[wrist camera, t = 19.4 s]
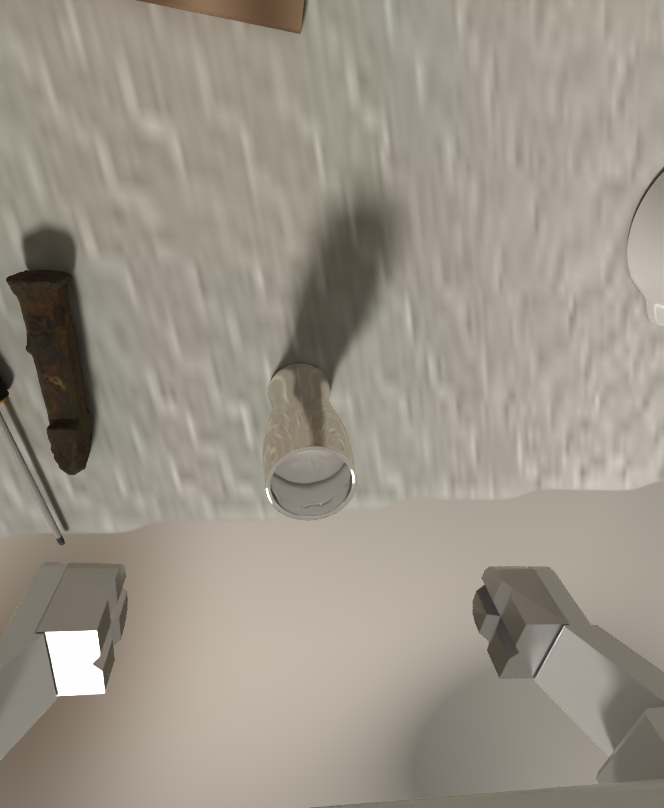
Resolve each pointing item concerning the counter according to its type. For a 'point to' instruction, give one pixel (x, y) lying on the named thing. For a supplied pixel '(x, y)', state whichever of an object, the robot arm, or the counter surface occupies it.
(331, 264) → the counter surface
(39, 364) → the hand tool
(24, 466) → the screwdriver
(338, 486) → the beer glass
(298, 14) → the walnut board
